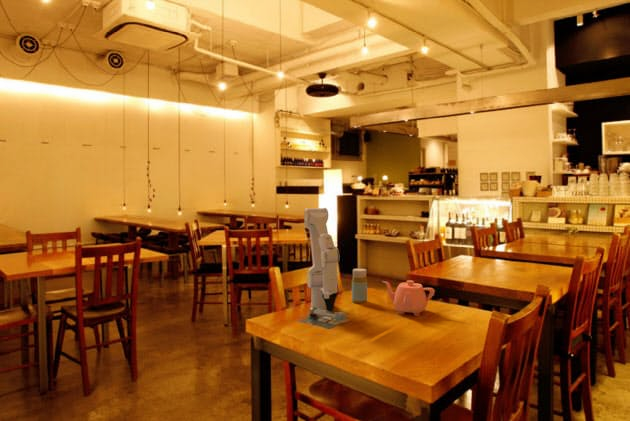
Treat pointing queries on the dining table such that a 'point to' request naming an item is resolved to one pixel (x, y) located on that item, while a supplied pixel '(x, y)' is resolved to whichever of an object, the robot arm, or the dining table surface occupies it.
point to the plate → (314, 321)
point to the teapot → (409, 297)
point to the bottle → (359, 286)
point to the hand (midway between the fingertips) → (330, 311)
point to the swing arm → (326, 313)
